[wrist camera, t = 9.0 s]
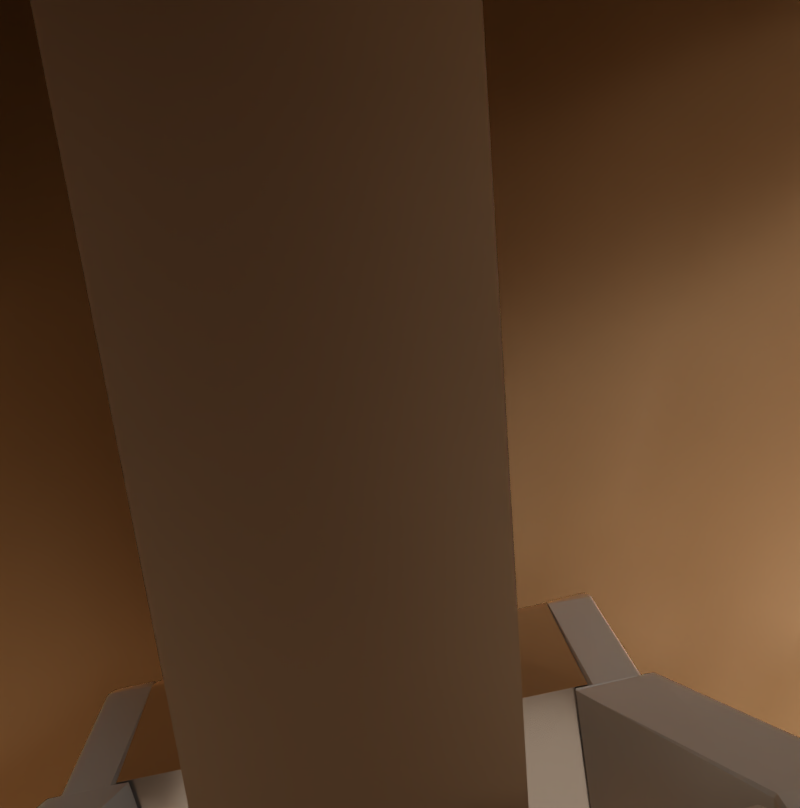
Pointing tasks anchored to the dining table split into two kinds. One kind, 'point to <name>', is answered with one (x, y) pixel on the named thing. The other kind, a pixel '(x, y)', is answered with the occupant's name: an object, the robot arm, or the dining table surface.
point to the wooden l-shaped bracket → (304, 384)
